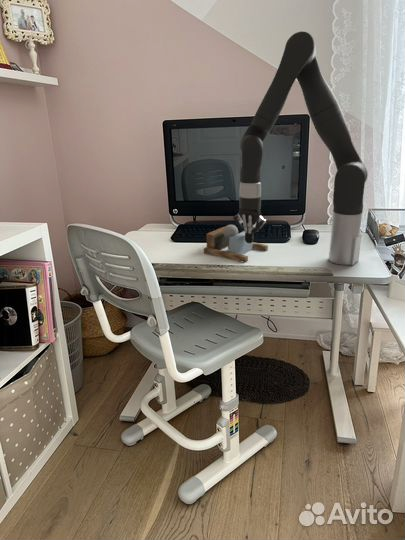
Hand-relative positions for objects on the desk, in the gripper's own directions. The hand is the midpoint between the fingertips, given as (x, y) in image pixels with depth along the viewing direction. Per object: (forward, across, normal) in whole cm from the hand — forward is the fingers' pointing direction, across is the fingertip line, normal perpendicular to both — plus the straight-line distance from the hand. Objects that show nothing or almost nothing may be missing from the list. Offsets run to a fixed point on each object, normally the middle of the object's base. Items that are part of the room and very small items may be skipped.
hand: (249, 242), depth 154 cm
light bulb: (+5, +8, 0) cm, 9 cm away
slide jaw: (+4, +4, 0) cm, 6 cm away
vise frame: (+5, +6, 0) cm, 7 cm away
